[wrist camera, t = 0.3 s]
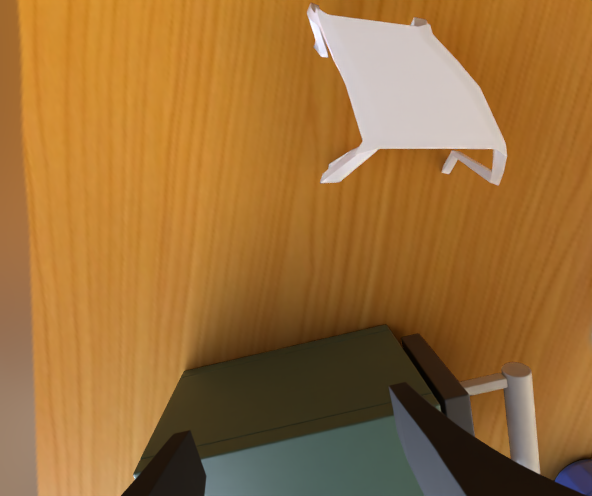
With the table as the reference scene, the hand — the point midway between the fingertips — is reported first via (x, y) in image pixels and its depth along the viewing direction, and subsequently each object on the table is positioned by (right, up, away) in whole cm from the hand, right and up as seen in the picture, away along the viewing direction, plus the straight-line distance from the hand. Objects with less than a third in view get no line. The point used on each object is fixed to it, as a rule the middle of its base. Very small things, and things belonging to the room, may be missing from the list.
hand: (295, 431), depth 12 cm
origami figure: (+5, +13, +8) cm, 16 cm away
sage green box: (+1, -6, +12) cm, 13 cm away
